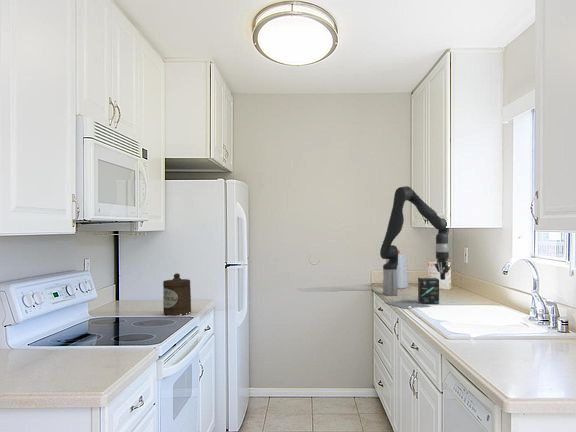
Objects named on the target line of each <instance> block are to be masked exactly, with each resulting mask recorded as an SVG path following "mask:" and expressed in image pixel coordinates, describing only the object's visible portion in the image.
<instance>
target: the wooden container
mask: <svg viewBox="0 0 576 432" xmlns="http://www.w3.org/2000/svg"><path fill="white" fill-rule="evenodd" d="M180 276H181V274H180V273H174V274H173V278H172V279H167V280H163V281H162V287H163V289H162V291H163V297H162V299H163V300H162V301H163V302H162V304H163V305H162V306H163V310H162V311H163V315H164V314H167V315H180V314H186V313H189V312H191V313H192V293H191V279H185V278H181V277H180ZM167 315H166V316H167Z"/></svg>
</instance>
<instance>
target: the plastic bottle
mask: <svg viewBox="0 0 576 432" xmlns="http://www.w3.org/2000/svg"><path fill="white" fill-rule="evenodd" d="M406 257H407V256H406V254H404V253H401V251H400V250H399V249H398V265H397V290H403V289H407V288H408V287H409V282H408V272H407V271H408V269H407V259H406ZM388 261H389V259H385V264H386V263H387V262H388Z"/></svg>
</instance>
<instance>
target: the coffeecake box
mask: <svg viewBox="0 0 576 432" xmlns="http://www.w3.org/2000/svg"><path fill="white" fill-rule="evenodd" d="M436 263H437V261H428V262H427V272H428V273H427V278H437V279H439V290H445V291H446V290H448V291H449V290H452V267H450V269H449V271H448V272H447V273H445V280H441V279H440V272H438V271H437V269H436V267H435V264H436ZM451 263H452V262H451V261H448V264H449V265H451V266H452V264H451Z"/></svg>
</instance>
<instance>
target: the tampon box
mask: <svg viewBox="0 0 576 432" xmlns="http://www.w3.org/2000/svg"><path fill="white" fill-rule="evenodd" d="M417 282H418V283H417V295H418V297H417V298H418V301H417V302H418V303H421V304H424V305H431V304H432V305H439V304H440V289H439V279H437V278H428V277H418V278H417Z"/></svg>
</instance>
